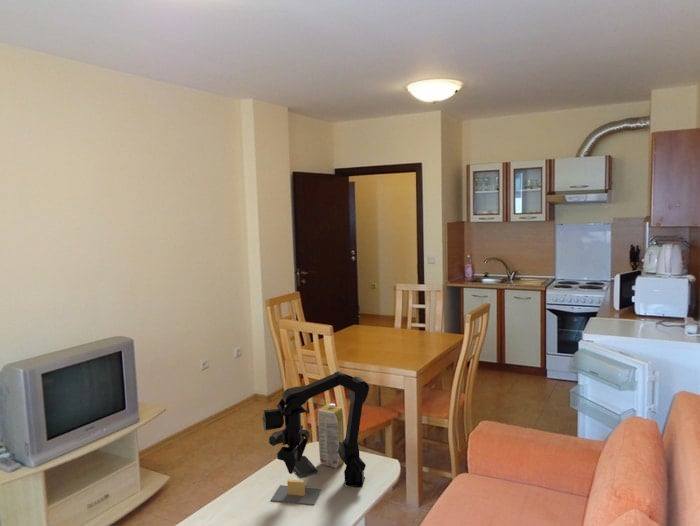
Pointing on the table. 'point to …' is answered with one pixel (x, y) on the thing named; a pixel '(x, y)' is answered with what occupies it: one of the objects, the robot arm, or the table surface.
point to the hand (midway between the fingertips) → (294, 467)
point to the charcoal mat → (296, 496)
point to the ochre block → (296, 487)
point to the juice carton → (330, 434)
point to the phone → (304, 467)
